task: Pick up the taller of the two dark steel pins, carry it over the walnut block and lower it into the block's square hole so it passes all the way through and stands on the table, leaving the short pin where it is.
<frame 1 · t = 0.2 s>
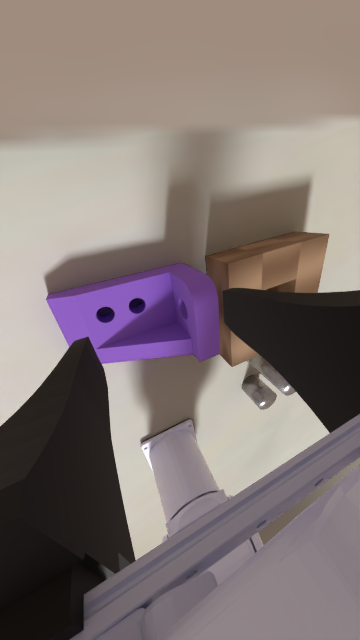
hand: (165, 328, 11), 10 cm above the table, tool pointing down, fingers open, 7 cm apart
bracket: (129, 308, 21), on the table
short pin: (249, 383, 33), on the table
tall pin: (250, 349, 30), on the table
hole block: (252, 293, 25), on the table
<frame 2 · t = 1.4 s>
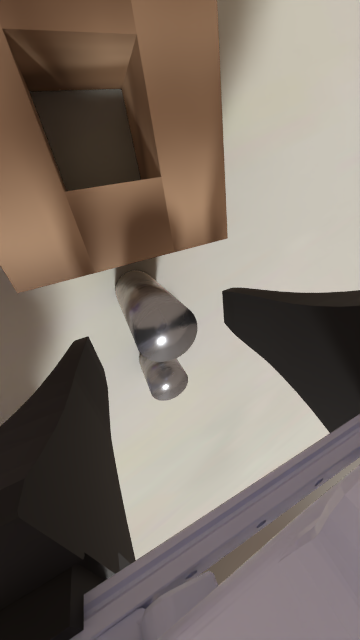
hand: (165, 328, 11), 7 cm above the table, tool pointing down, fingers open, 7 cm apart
short pin: (155, 357, 20), on the table
tall pin: (136, 290, 16), on the table
hole block: (94, 146, 12), on the table
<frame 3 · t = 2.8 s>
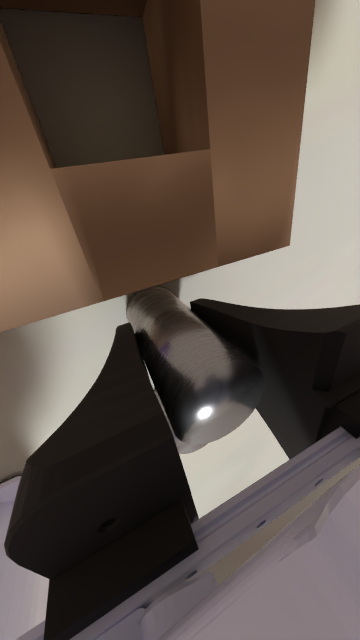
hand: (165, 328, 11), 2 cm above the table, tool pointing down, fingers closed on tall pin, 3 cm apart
short pin: (173, 389, 16), on the table
tall pin: (153, 311, 12), on the table, touching gripper
hole block: (100, 108, 8), on the table
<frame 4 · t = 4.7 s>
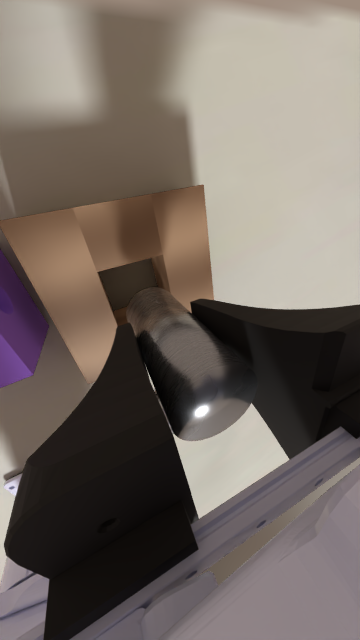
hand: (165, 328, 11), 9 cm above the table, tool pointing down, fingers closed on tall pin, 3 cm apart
tall pin: (152, 312, 13), point 7 cm above the table, touching gripper
hole block: (130, 280, 18), on the table
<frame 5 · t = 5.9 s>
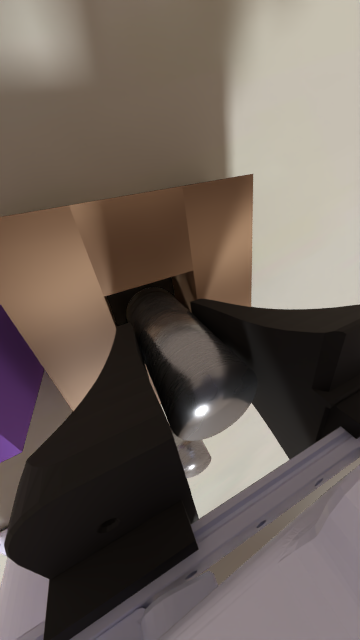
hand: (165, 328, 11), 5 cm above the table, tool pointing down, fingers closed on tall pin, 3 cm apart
short pin: (179, 429, 22), on the table
tall pin: (152, 311, 13), point 2 cm above the table, touching gripper
hole block: (143, 298, 14), on the table
when the fingers open (5 cm above the table, at t = 6.6 s): tall pin drops 2 cm, resting in hole block.
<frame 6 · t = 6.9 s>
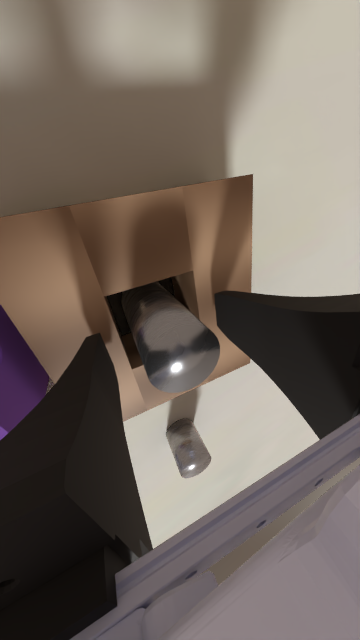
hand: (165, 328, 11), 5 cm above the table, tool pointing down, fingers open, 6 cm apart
short pin: (179, 429, 22), on the table
tall pin: (144, 300, 14), resting in hole block
hole block: (143, 298, 14), on the table
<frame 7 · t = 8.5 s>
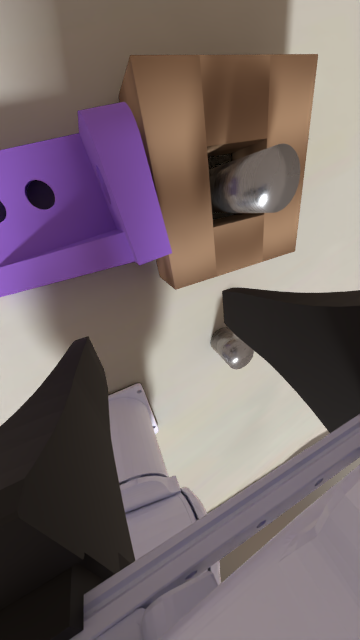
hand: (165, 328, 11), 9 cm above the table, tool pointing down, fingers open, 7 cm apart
bracket: (49, 219, 15), on the table
short pin: (221, 339, 26), on the table
tall pin: (210, 192, 18), resting in hole block
hole block: (210, 190, 17), on the table
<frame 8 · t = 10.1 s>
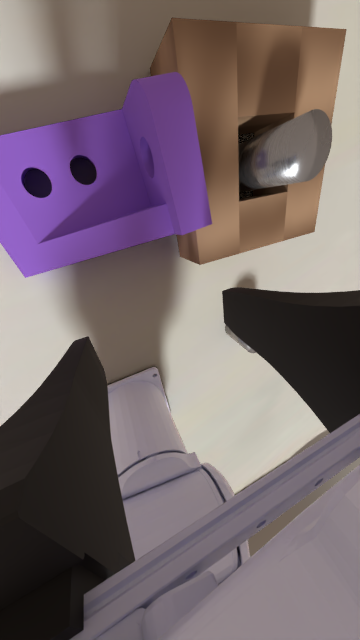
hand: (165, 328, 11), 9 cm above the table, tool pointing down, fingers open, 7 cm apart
bracket: (85, 198, 15), on the table
short pin: (235, 324, 26), on the table
tall pin: (232, 171, 18), resting in hole block
hole block: (231, 169, 18), on the table
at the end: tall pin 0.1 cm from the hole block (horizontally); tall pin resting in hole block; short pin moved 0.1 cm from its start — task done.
